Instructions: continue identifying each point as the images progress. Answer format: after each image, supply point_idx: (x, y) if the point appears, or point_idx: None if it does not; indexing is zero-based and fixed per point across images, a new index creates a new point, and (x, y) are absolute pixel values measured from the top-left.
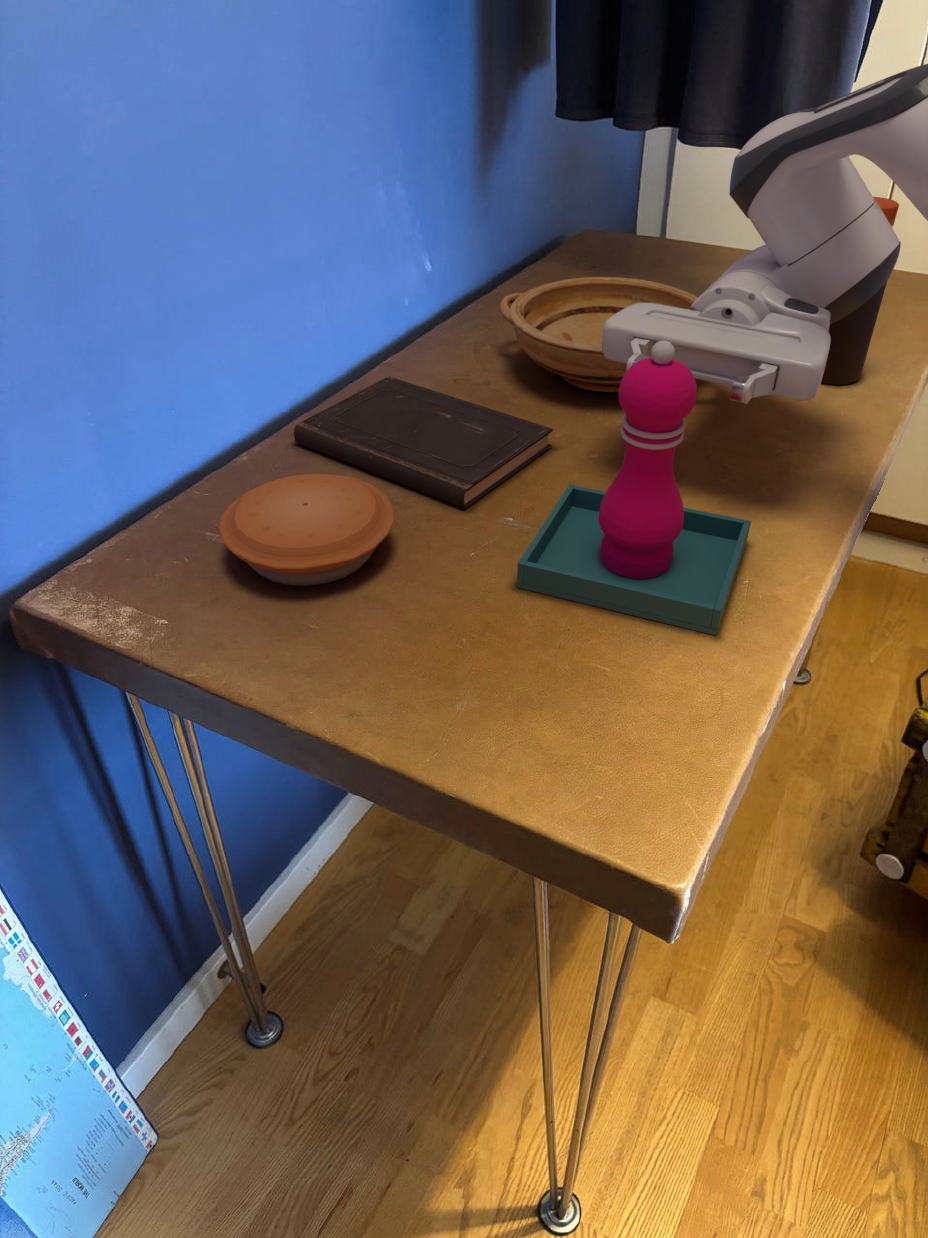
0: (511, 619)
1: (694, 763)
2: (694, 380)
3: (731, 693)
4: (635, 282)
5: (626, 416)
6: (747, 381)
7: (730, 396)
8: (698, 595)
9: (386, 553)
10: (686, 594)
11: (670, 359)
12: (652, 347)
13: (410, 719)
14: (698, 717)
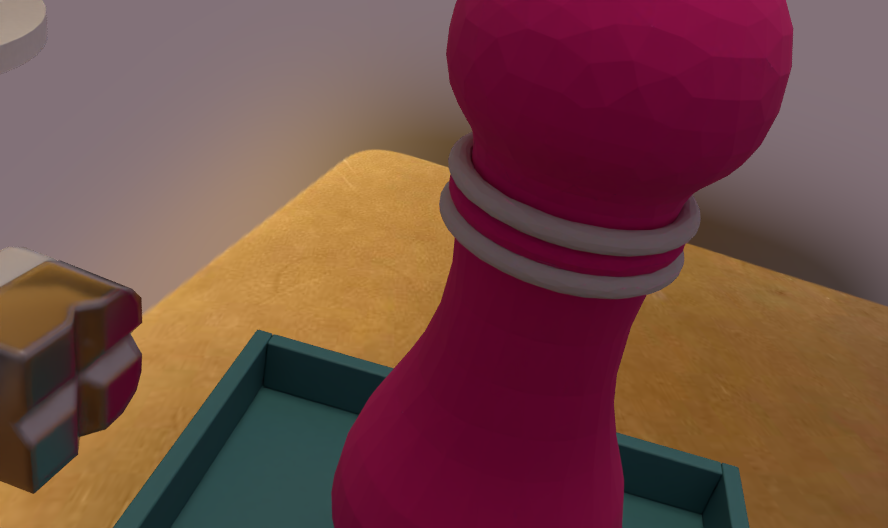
0: (672, 433)
1: (338, 215)
2: None
3: (258, 285)
4: None
5: (686, 201)
6: (8, 277)
7: (140, 359)
8: (272, 465)
9: None
10: (303, 470)
11: None
12: None
13: (707, 283)
14: (321, 259)
